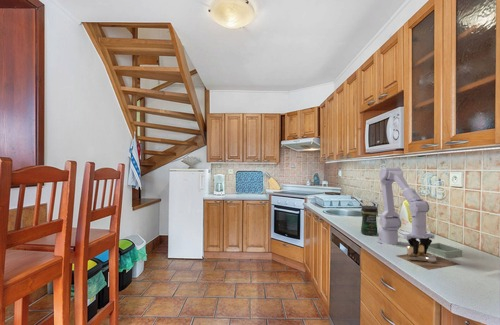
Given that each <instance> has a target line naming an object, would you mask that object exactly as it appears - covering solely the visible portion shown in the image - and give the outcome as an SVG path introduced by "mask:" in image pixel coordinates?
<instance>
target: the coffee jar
mask: <svg viewBox="0 0 500 325" xmlns="http://www.w3.org/2000/svg"><path fill="white" fill-rule="evenodd" d="M360 212H361V216H362V218H361V219H362V220H361V230H360V233H361V234H362V235H364V236H365V235H366V236H377V235H379V230H378V224H377V222H378V221H377V217H378V216H377V215H378V207H376V205H375V206H374V205H361V210H360Z"/></svg>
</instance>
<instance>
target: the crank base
mask: <svg viewBox="0 0 500 325" xmlns="http://www.w3.org/2000/svg"><path fill="white" fill-rule="evenodd" d="M425 255H428V256H433V257H435V258H436V263H429V262H426V261H423V260H411V259H409V258H408V256H407V253H406V254H399V255H398V254H397V255H396V257H398V258H400V259H402V260H405V261H407V262H410V263H412V264H414V265H416V266H418V267H420V268H424V269H426V270H428V271H429V270H430V271H431V270H436V269H443V268H447V267H453V266H459V265H460V266H461V264H460V263H457V262H455V261H452V260H449V259H446V258H445V257H442V256H439V255H437V254H434V253H431V252H428V251H427V252H426V254H424V256H425ZM413 256H414V254H413Z"/></svg>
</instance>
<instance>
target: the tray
mask: <svg viewBox="0 0 500 325" xmlns="http://www.w3.org/2000/svg"><path fill="white" fill-rule="evenodd" d="M427 253H430V254H435V255H436V256H438V257H441V258H444V259H446V258H452V257H463V249H461V248H457V247H455V246H454V247H453V246H451V245H447V244H444V243H440V242H436V243H435V242H432V243H431V244H430V245H429V247H428V249H427Z"/></svg>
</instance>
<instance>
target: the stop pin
mask: <svg viewBox="0 0 500 325" xmlns="http://www.w3.org/2000/svg"><path fill="white" fill-rule="evenodd" d="M414 256H424V244H421V243H420V242H419V245H418V254H417V255H416V254H414Z"/></svg>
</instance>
